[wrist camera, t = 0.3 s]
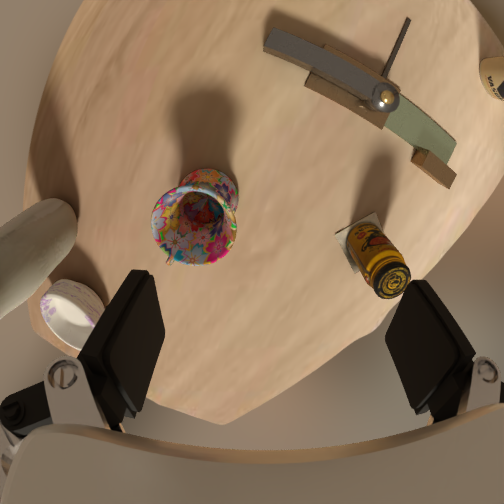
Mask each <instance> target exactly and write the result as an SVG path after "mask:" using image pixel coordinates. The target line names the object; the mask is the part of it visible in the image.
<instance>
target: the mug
mask: <svg viewBox="0 0 504 504" xmlns="http://www.w3.org/2000/svg"><path fill="white" fill-rule="evenodd" d="M237 206H238V193H237V189H236V187H235V185H234V183H233V182H232V180H231V179H230V178H229V177H228V176H226V175H225V174H224V173H222V172H220V171H217V170H214V169H199V170H196V171H194V172H192V173H190V174H189V175H187V176H186V177H185V178H184V179H183V181H182V182H181V184H180V186H179V187H176V188H174V189H172V190H170V191H168V192H167V193H165V194H164V195H163V196H162V197H161V198H160V199H159V200H158V202H157V203H156V205H155V207H154V209H153V212H152V217H151V228H152V233H153V236H154V238H155V241H156V242H157V244H158V246H159V247H160V248H161V249H162V251H163V252H164V253H165V254H167V255H168V256H169V257H168V259H167V261H166V264H167V265H169V266H171V265H172V263H173V262H174V260H176V261H178V262H180V263H183V264H186V265H192V266H203V265H208V264H211V263H214V262H216V261H218V260H220V259H221V258H222V257H224V256H225V255H226V254H227V253H228V252H229V250H230V249H231V247H232V246H233V244H234V241H235V238H236V232H237V225H236V219H235V216H234V213H235V211H236V209H237Z"/></svg>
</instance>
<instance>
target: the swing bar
mask: <svg viewBox="0 0 504 504" xmlns="http://www.w3.org/2000/svg"><path fill="white" fill-rule="evenodd" d="M263 52H266V53H269V54H271V55H274V56H276V57H279V58H281V59H284V60H286V61H288V62H291V63H293V64H295V65H298V66H300V67H302V68H304V69H306V70H308V71H310V72H313V73H315V74H317V75H319V76H321V77H323V78H325V79H326V80H328V81H330V82H332V83H334V84H336V85H338V86H340V87H341V88H343V89H345V90H347V91H348V92H350V93H352V94H354V95H355V96H357V97H359V98H360V99H362V100H363V101H364V103H365V105H366V106H367V107H368V108H369V109H370V110H372V111H376V112H386V113H390V112H393V111H395V110H396V109H397V108H398V106H399V103H400V97H399V93H398V91H397V90H396V88H395V87H394V86H393V85H391V84H389V83H386V82H380V81H378V80H377V79H375V78H374V77H372V76H371V75H369V74H367V73H366V72H364V71H363V70H361V69H359V68H358V67H356V66H354V65H352V64H351V63H349V62H347V61H345V60H344V59H342V58H340V57H338V56H336V55H334V54H332V53H330V52H329V51H327V50H325V49H323V48H321V47H318V46H316V45H314V44H312V43H310V42H308V41H306V40H303V39H301V38H299V37H296V36H294V35H292V34H289V33H287V32H284V31H282V30H279V29H277V28H274V27H273V29H272V31H271V33H270V35H269V37H268V38H267V40H266V42H265V44H264V48H263Z"/></svg>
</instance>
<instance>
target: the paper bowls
mask: <svg viewBox="0 0 504 504" xmlns="http://www.w3.org/2000/svg"><path fill="white" fill-rule="evenodd" d="M40 309H41V313H42V316H43V318H44V320H45V322H46V323H47V325H48V326H49V328H50V329H51V330H52V331H53V333H54V334H55V335H56V336H57V337H58V338H60V339H61V340H62V341H63V342H65V343H66V344H68V345H69V346H71V347H73V348H75V349H77V350H80V351H81V350H82V348H83V346H84V344H85V342H86V341H87V339H88V337H89V335H90V334H91V332H92V330H93V329H94V327H95V325H96V323H97V322H98V320H99V318H100V317H101V315H102V313H103V312H104V310H105V308H104V306H103V303H102V301H101V299H100V298H99V296H98V295H97V294H96V293H95V292H94V291H93V290H92V289H91V288H89V287H88V286H86V285H84V284H82V283H78V282H75V281H72V280H68V279H61V280H58V281H56V282H55V283H54V284H53V285H52V286H51V287H50V288H49V289H48V290H47V292H46V293H45V294H44V295H43V296H42V298H41V301H40Z"/></svg>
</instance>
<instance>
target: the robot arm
mask: <svg viewBox="0 0 504 504" xmlns="http://www.w3.org/2000/svg"><path fill="white" fill-rule="evenodd" d="M164 338H165V328H164V323H163V319H162V315H161V310H160V306H159V301H158V296H157V291H156V286H155V281H154V277H153V275H149V272H148V271H147V270H134V269H133V270H131V271H130V273H129V274H128V276H127V277H126V279H125V280H124V282H123V283H122V285H121V286H120V288H119V289H118V291H117V292H116V294H115V296H114V297H113V299H112V300H111V302H110V304H109V305H108V306H107V307H106V309H105V310H104V312H103V313H102V315H101V317H100V318H99V320H98V322H97V323H96V325H95V327H94V329H93V330H92V332H91V334H90V335H89V337H88V339H87V341H86V342H85V344H84V346H83V348H82V350H81V351H80V353H79V355H78V357H77V358H74V357H72V356H62V357H58V358H57V359H55V360H53V361H52V362H51V363H50V364H49V365H48V366H47V368H46V370H45V373H44V381H42V382H40V383H38V384H35V385H33V386H30V387H28V388H26V389H23V390H21V391H18V392H16V393H14V394H11V395H9V396H8V397H6V398H5V400H3V401H2V403H1V405H0V504H504V383H503V382H501V374H500V370H499V368H498V366H497V365H496V363H495V362H494V361H493V360H491V359H490V358H488V357H479V358H477V359H476V360H475V361H474V362H473V361H472V358H473V357H474V355H475V354H476V352H475V350H474V349H473V347H472V346H471V344H470V342H469V341H468V339H467V338H466V336H465V335H464V333H463V331H462V330H461V328H460V327H459V325H458V324H457V322H456V321H455V319H454V318H453V316H452V315H451V313H450V312H449V311H448V309H447V308H446V306H445V305H444V304H443V302H442V301H441V300H440V298H439V297H438V295H437V294H436V293H435V291H434V290H433V289H432V287H431V286H430V285H429V283H428V282H427V281H426V280H412V281H411V282H410V283H409V284H408V285H407V286H406V288H405V291H404V293H403V296H402V298H401V301H400V303H399V306H398V308H397V310H396V313H395V315H394V317H393V319H392V322H391V324H390V326H389V328H388V330H387V332H386V335H385V341H386V344H387V346H388V349H389V351H390V354H391V356H392V359H393V361H394V364H395V366H396V369H397V371H398V374H399V376H400V379H401V381H402V384H403V387H404V389H405V392H406V395H407V398H408V400H409V403H410V406H411V407H412V408H413V409H414V410H415V413H416V415H418V414H422V413H425V412H427V411H428V410H430V412H431V415H430V417H429V420H428V423H427V426H425V427H422V428H419V429H415V430H412V431H408V432H405V433H401V434H397V435H393V436H389V437H385V438H380V439H375V440H370V441H364V442H359V443H353V444H347V445H339V446H331V447H322V448H311V449H298V450H235V449H220V448H209V447H199V446H192V445H185V444H178V443H172V442H166V441H160V440H154V439H149V438H144V437H140V436H136V435H131V434H127V433H125V431H124V429H123V427H122V425H121V422H122V421H123V418H124V416H126V417H130V418H135V416H136V412H140V411H141V410H142V407H143V404H144V400H145V397H146V394H147V391H148V387H149V384H150V381H151V378H152V375H153V371H154V368H155V365H156V362H157V359H158V356H159V353H160V350H161V347H162V344H163V341H164Z"/></svg>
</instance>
